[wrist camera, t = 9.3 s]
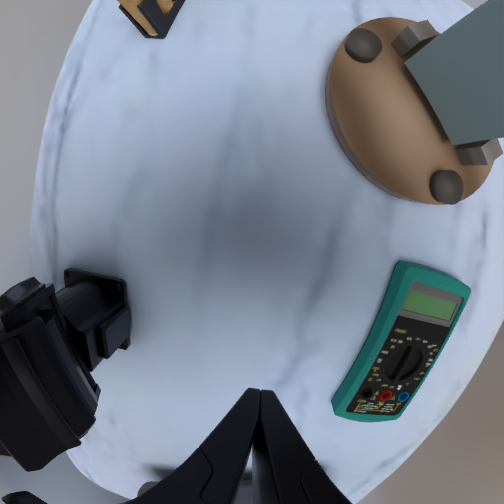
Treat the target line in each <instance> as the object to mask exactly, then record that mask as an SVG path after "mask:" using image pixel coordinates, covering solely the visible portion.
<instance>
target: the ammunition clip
mask: <svg viewBox="0 0 504 504" xmlns="http://www.w3.org/2000/svg"><path fill="white" fill-rule="evenodd" d="M117 1H118V2H119V3H120V6H119V9H120V10H121V11H122V12H123V13H124V14H125V15H126V16H127V17H128V19H129V20H130V21H131V22H132V23H133V24H134V25H135V27H136V28H137V29H138V30H139V31H140V32H141V33H142V35H143V36H144V37H145V38H161V39H163V38H165V37H166V35H167V33H168V31H169V29H170V27H171V25H172V23H173V21H174V20H175V18H176V16H177V14H178V12H179V10H180V9H181V7H182V5H183V3H184V2H185V0H117Z"/></svg>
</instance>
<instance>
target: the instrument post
mask: <svg viewBox="0 0 504 504" xmlns="http://www.w3.org/2000/svg"><path fill="white" fill-rule="evenodd" d="M404 64H405V65H406V66H407V68H408V69H409V71H410V72H411V74H412V75H413V77H414V78H415V80H416V81H417V83H418V84H419V86H420V87H421V89H422V91H423V92H424V94H425V96H426V97H427V99H428V101H429V102H430V104H431V106H432V108H433V109H434V111H435V113H436V115H437V117H438V118H439V120H440V122H441V124H442V126H443V128H444V130H445V132H446V134H447V136H448V138H449V140H450V142H451V144H452V146H453V145H459V144H465V143H470V142H476V141H483V140H489V139H496V138H502V137H504V0H488V1H487V2H485V3H484V4H482V5H481V6H479V7H478V8H476V9H475V10H474V11H472V12H471V13H469V14H468V15H466V16H465V17H464V18H462V19H461V20H460V21H458V22H457V23H455V24H454V25H453V26H451V27H450V28H449V29H447V30H446V31H445V32H443V33H442V34H441V35H439V36H438V37H437V38H435V39H434V40H433V41H431V42H430V43H429V44H427V45H426V46H425V47H424V48H422V49H421V50H420V51H418V52H417V53H416V54H415V55H413V56H412V57H411V58H409V59H408V60H407V61H406V62H404Z"/></svg>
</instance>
